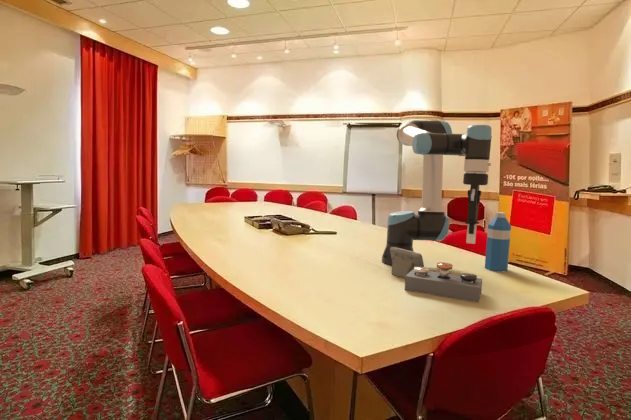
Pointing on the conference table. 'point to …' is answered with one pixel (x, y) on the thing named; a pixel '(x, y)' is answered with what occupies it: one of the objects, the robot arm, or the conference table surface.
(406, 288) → the panel
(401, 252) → the digital clock
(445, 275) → the plunger terracotta
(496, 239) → the water bottle
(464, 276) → the plunger black
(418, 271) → the plunger ivory
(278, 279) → the conference table surface
